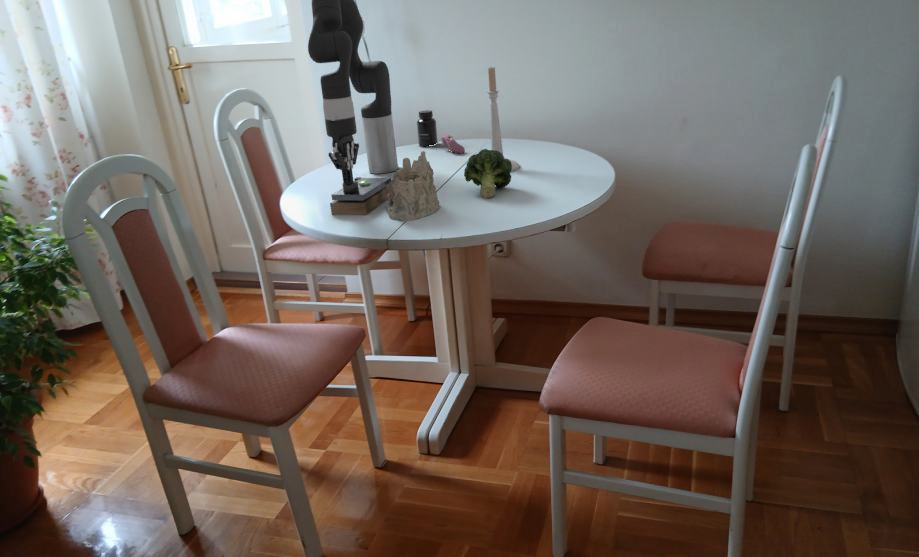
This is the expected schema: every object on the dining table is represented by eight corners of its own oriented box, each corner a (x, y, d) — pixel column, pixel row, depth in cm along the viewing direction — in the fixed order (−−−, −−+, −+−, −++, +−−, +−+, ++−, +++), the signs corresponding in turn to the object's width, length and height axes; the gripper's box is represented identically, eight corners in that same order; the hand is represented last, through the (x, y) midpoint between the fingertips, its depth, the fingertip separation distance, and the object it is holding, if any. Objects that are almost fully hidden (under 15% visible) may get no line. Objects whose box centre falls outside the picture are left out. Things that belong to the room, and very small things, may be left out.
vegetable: (454, 193, 194) (458, 156, 204) (489, 218, 200) (491, 181, 210) (486, 168, 187) (489, 131, 197) (521, 195, 193) (522, 158, 203)
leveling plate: (362, 183, 208) (360, 169, 207) (391, 183, 205) (389, 169, 204) (332, 200, 193) (330, 185, 191) (363, 200, 190) (361, 185, 188)
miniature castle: (406, 197, 202) (399, 144, 195) (452, 207, 192) (446, 151, 185) (365, 217, 191) (356, 161, 185) (412, 228, 182) (404, 170, 175)
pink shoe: (447, 153, 256) (436, 137, 253) (457, 146, 256) (447, 129, 253) (455, 159, 247) (444, 142, 244) (466, 151, 247) (456, 134, 244)
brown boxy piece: (359, 192, 212) (357, 177, 210) (401, 193, 207) (399, 176, 206) (326, 214, 194) (323, 197, 192) (372, 215, 190) (369, 197, 188)
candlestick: (503, 175, 216) (496, 69, 205) (468, 171, 223) (460, 69, 212) (527, 164, 225) (522, 62, 214) (493, 161, 233) (486, 63, 221)
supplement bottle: (421, 148, 260) (417, 114, 256) (417, 145, 266) (413, 111, 262) (440, 145, 262) (437, 111, 257) (435, 142, 268) (432, 108, 264)
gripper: (338, 112, 192) (347, 177, 198) (313, 120, 181) (323, 190, 187) (364, 111, 190) (372, 177, 196) (340, 119, 178) (350, 190, 184)
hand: (348, 183), depth 191 cm, fingers closed
